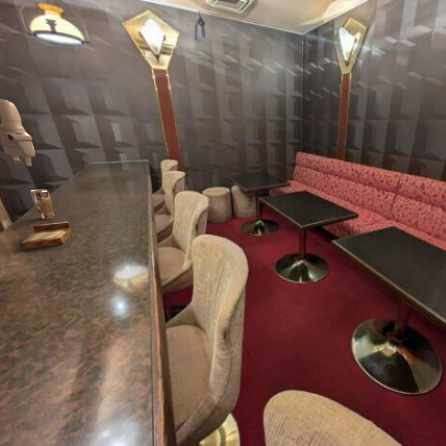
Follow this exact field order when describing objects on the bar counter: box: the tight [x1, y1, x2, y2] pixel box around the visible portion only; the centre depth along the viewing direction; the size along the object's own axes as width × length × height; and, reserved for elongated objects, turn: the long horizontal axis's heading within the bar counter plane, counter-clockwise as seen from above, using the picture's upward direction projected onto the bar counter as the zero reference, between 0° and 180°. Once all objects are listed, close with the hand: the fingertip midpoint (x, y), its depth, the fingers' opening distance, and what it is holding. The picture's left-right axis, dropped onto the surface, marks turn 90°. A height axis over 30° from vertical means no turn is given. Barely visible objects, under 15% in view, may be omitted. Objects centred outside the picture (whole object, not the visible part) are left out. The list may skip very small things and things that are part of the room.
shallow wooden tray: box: [21, 221, 73, 250], centre depth 108 cm, size 12×14×6 cm
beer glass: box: [29, 188, 57, 220], centre depth 131 cm, size 7×7×15 cm
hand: (24, 164), depth 123 cm, fingers open, 8 cm apart
